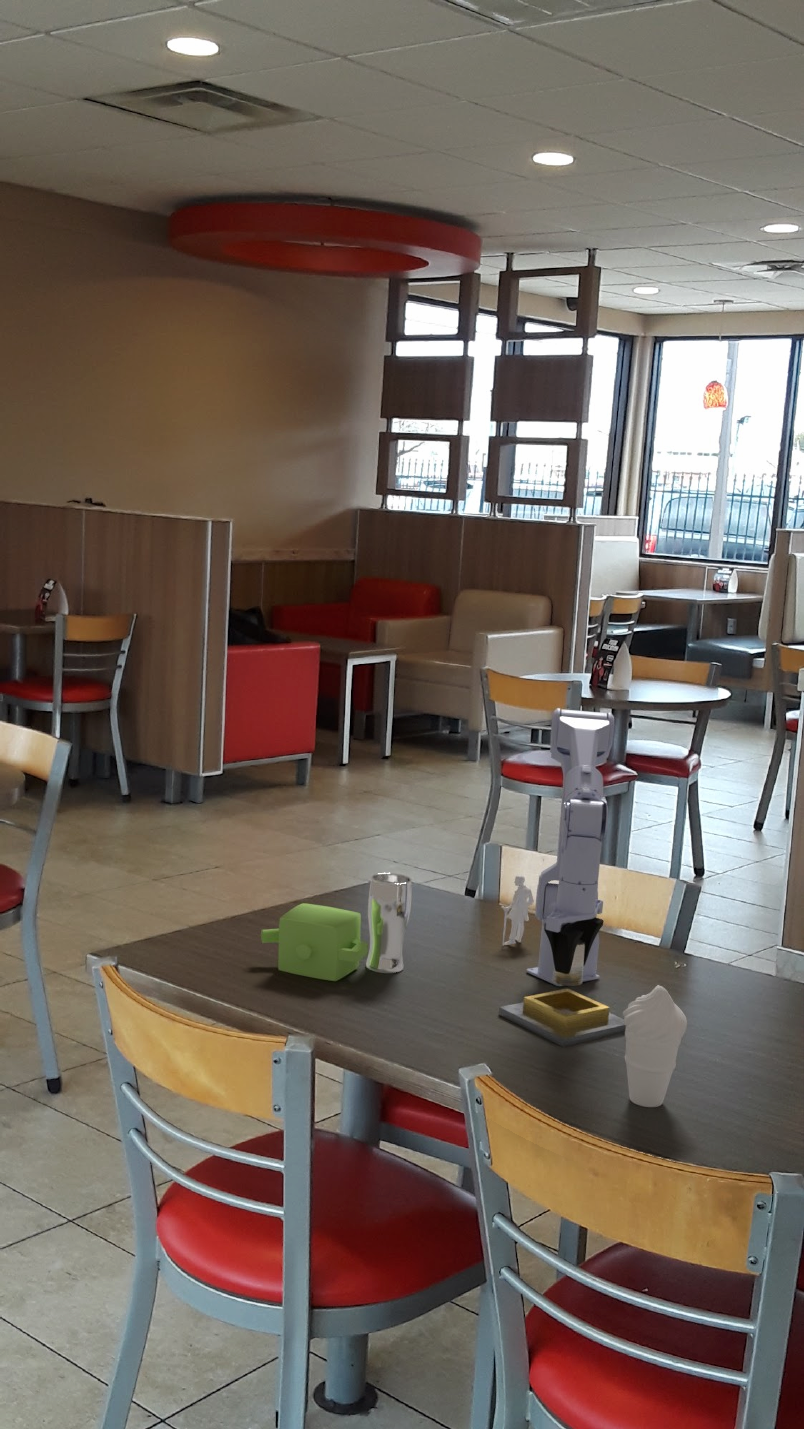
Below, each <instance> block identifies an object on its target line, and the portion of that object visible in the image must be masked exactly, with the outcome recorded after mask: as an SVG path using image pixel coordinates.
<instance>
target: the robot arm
mask: <svg viewBox="0 0 804 1429" xmlns="http://www.w3.org/2000/svg"><path fill="white" fill-rule="evenodd" d="M614 732H615V716H614V715H613V713H612V712H610V711H609V712H608V711H607V712H599V711H598V712H597V711H586V710H576V709H575V710H574V709H563V708H560V707H557V708H556V709H555V710H553V711H552V716H551V730H550V747H549V748H550V749H549V752H550V753H551V755H550V756H551V757H550V758H552V759H553V760H555V761H557V762H558V763H560V766H561V770H562V775H563V780H562V791H561V792H562V793H561V803H560V815H559V816H560V817H559V818H560V819H559V829H558V830H559V831H558V840H557V842H558V844H557V854H556V855H557V856H556V862H555V863H554V864H552V865H550V866H549V867H547V868H545V869H543V870H542V871H541V873H540V875H539V876H538V884H537V886H536V887H537V889H536V897H535V912H534V914H535V918H536V919H537V920H538V921H541V933H540V945H539V953H538V954H539V955H538V965H537V966H536V967H531V968H527V969H526V973H528V974H529V975H532V976H535V977H536V978H539V979H541V980H543V981H546V982H547V983H550V984H553V985H554V986H556V987H563V986H565V985H560V984H557V983H555V982H553V966H554V967H555V971H556V972H560V973H564V974H569V972H570V970H571V967H572V963H573V957H574V953H575V949H576V946H577V944H578V942H579V940H582V941H584V942H585V949H584V964H583V978H582V983H583V982H589V981H593V980H598V979H600V975H599V974H597V966H598V957H599V949H600V948H599V946H600V936H599V932H600V931H601V929H602V928H603V925H604V919H602V918H599V917H597V916H598V915H601V914H603V910H604V909H603V908H604V900H602V899H599V890H598V889H599V887H598V886H599V874H600V867H601V866H600V864H601V856H602V845H603V841H604V840H605V838H606V836H607V835H606V834H607V831H608V822H609V807H608V801H607V798H606V797H604V778H603V774H602V773H601V771H600V770H599V769H597V768H596V767H597V766H599V765H601V764H605V763H606V762H607V759H608V758H609V755H610V752H611V749H612V747H613V742H614V734H615V733H614ZM600 837H602V839H601V838H600ZM602 840H603V841H602ZM552 881H553V882H554V881H556V882H557V881H558V883H552Z"/></svg>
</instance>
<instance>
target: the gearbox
mask: <svg viewBox="0 0 804 1429" xmlns="http://www.w3.org/2000/svg"><path fill="white" fill-rule="evenodd" d="M361 916H362V914H361V913H360V912H356V911H352V910H347V909H341V908H337V907H331V906H326V905H319V904H314V903H313V904H312V903H304V902H302V903H300V904H298V905H296V906H294V907H293V908H291V909H290V910H288V911H287V912H286V913H284V914H283V915H282V916H280V917H279V923H278V928H270V929H267V928H266V929H261V931H260V940H261V943H262V944H264V943H265V944H266V943H267V944H268V943H269V944H270V943H271V944H273V943H278V952H277V953H278V960H277V961H278V964H277V968H278V971H281V972H284V973H290V974H293V975H299V976H302V977H303V976H304V977H307V978H308V977H309V978H313V979H318V980H324V981H329V982H330V981H331V982H337V981H339V980H341V979H343V978H344V977H346V976H347V975H349V974H351V973H352V972H353V971H354V970H356V969H357V968H358V967H360V966H359V965H360V960H362V959H364V958H365V957H366V956H368V954H369V943H367V942H365V941H363V940H361V923H362V922H361V921H362V920H361V918H362V917H361Z"/></svg>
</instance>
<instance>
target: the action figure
mask: <svg viewBox="0 0 804 1429" xmlns="http://www.w3.org/2000/svg"><path fill="white" fill-rule="evenodd" d="M525 880H526V878H525V876H523V875H521V874H519V875H516V876H515V878H514V886H517V889H516V890H514V894H513V897H512V900H511V902H510V905H508V906H504V905H501V907H500V909H502V910H503V912H504V917H503V918H504V919H503V931H502V932H503V933H502V947H505V946H509V945H514V944H516V941H517V943H521V942H522V937H523V935H524V932H525V921H526V922H528V921H529V920H530V919H529V913H528V912H529V907H530V906H532V905H533V904H534V901H535V900H534V896H533V892H532V890H531V888H530V887H528V886H527V885H526V884H525ZM527 900H528V901H527ZM508 912H509V913H508ZM507 919H508V920H511V929H510V933H509V937H508V940H507V941H505V938H506V929H507Z"/></svg>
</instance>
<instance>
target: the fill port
mask: <svg viewBox="0 0 804 1429" xmlns="http://www.w3.org/2000/svg"><path fill="white" fill-rule="evenodd" d="M498 1007H499V1010H498V1015H499V1016H500V1017H503V1018H505V1019H506V1020H509V1021H510V1022H512V1023H515V1024H517V1025H519V1026H520V1027H523V1028H525V1029H527V1030H528V1031H530V1032H532V1033H534V1034H537V1035H538V1036H541V1037H542V1038H545V1039H546V1040H548V1041H550V1042H553V1043H554V1044H556V1045H558V1046H560V1047H562V1048H564V1047H567V1046H572V1045H577V1044H581V1043H584V1042H590V1041H594V1040H598V1039H603V1038H606V1037H611V1036H615V1035H620V1034H625V1029H626V1025H625V1024H624V1023H623V1020H624V1018H622V1017H619V1016H618V1015H615V1014H614V1013H611V1012H610V1008H611V1007H610V1006H608V1005H606V1004H604V1003H601V1002H599V1001H596V1000H594V999H592V998H590V997H587V996H585V995H583V994H581V993H579V992H576V991H574V990H572V989H570V988H568V987H567V988H563V989H559V990H553V991H549V992H543V993H539V994H538V993H537V994H534V995H533V994H532V995H529V996H524V997H523V1001H522V1002H518V1003H514V1004H508V1005H503V1006H498Z"/></svg>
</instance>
